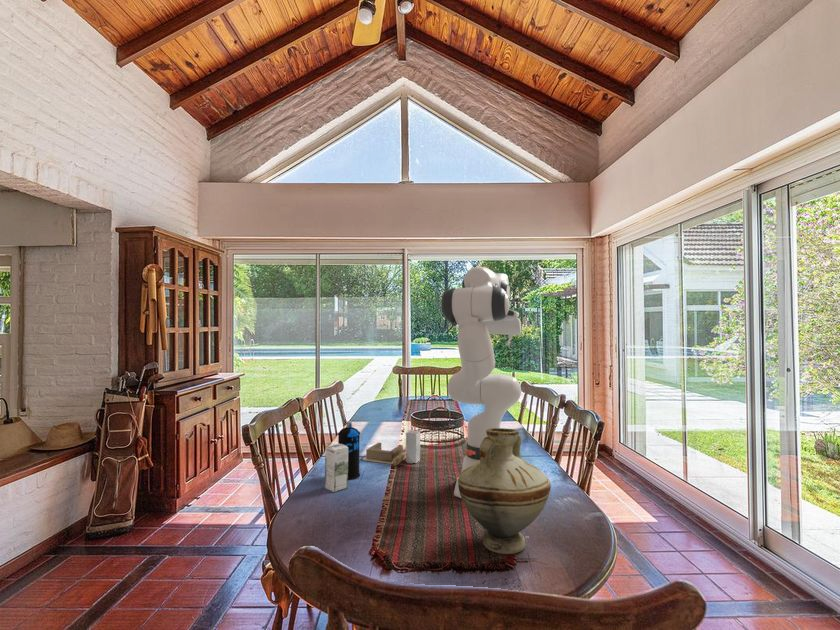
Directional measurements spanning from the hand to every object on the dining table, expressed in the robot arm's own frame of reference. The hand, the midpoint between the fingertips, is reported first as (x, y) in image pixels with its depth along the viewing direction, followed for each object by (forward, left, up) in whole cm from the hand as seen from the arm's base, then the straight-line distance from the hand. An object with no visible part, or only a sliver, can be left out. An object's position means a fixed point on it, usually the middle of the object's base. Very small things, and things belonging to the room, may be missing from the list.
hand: (496, 345), depth 190 cm
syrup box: (-54, +44, -47) cm, 84 cm away
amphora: (-71, -16, -47) cm, 86 cm away
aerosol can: (-42, +46, -47) cm, 78 cm away
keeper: (-17, +43, -47) cm, 66 cm away
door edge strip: (-18, +35, -47) cm, 61 cm away
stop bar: (-18, +30, -47) cm, 59 cm away
